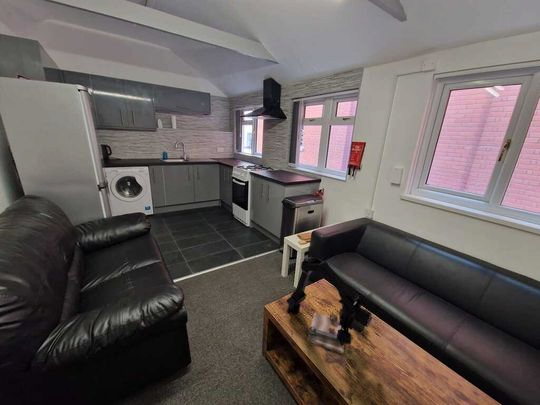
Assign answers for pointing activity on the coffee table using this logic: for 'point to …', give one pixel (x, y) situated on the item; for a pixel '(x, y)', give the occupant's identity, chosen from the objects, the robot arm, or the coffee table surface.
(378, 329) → the coffee table surface
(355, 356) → the coffee table surface
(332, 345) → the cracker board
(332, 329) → the terracotta cube
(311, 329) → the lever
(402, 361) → the coffee table surface
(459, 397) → the coffee table surface
